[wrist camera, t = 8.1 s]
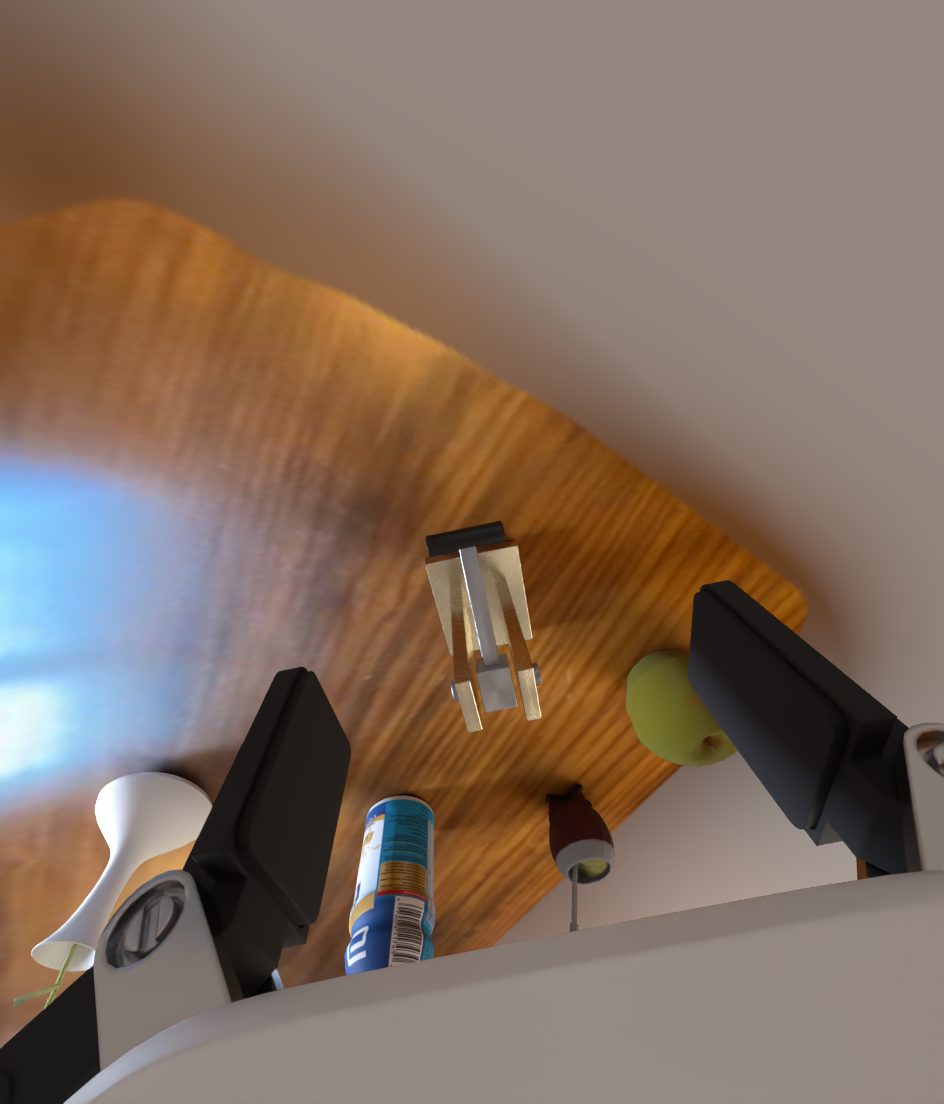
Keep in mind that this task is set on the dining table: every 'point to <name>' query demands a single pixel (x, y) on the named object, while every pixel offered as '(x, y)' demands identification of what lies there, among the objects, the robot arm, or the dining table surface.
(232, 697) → the dining table surface
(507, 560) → the bracket
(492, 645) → the lever
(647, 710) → the apple
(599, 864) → the mate gourd
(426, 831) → the beverage bottle
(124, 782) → the flower in vase
